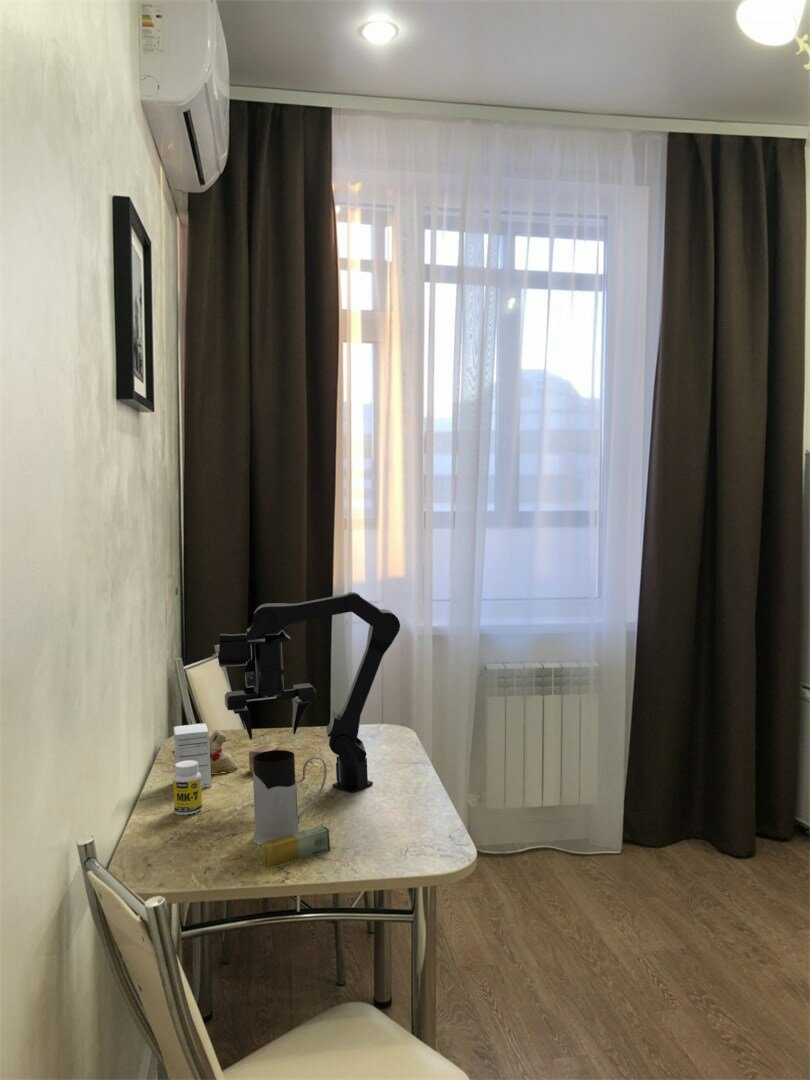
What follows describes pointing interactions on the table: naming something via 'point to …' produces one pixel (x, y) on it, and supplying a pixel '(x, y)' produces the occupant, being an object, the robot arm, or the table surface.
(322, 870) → the table surface
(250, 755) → the tan cube
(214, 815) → the table surface
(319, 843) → the medication box
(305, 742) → the table surface
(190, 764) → the supplement bottle
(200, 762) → the supplement box
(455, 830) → the table surface
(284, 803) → the glass holder
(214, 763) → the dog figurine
